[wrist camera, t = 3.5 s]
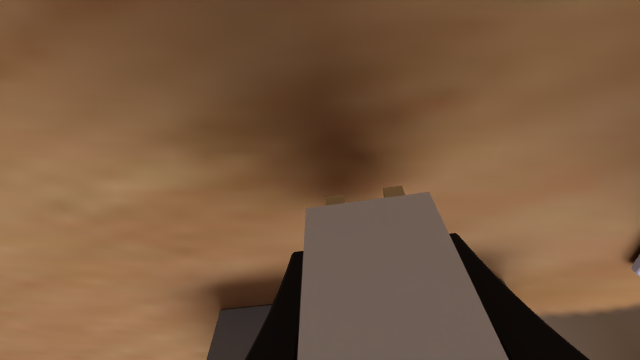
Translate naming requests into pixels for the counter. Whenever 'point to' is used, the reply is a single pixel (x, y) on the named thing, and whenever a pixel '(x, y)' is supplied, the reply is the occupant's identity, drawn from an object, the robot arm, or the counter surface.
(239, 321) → the socket plate
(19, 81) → the counter surface
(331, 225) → the plug
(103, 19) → the counter surface
